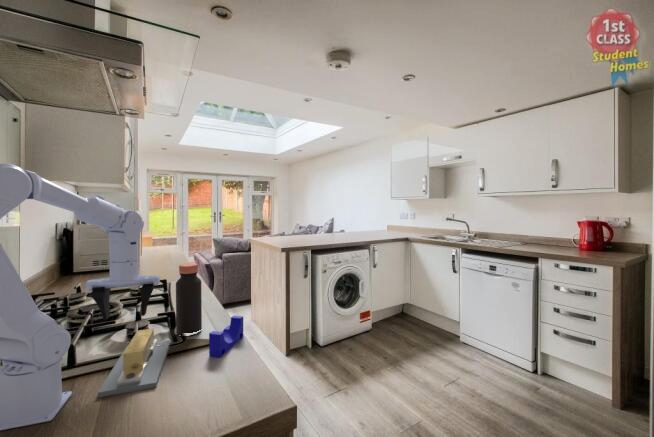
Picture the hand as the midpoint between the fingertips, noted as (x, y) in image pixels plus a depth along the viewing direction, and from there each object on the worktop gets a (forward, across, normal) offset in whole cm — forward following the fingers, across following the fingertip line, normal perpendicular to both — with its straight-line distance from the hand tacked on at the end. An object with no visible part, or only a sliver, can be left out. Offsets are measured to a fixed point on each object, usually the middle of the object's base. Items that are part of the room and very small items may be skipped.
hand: (125, 316), depth 71 cm
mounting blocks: (+10, -4, +5) cm, 12 cm away
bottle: (+11, -13, -11) cm, 20 cm away
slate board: (+10, -4, +5) cm, 12 cm away
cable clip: (+11, -23, +1) cm, 25 cm away
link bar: (+8, -4, +5) cm, 10 cm away
